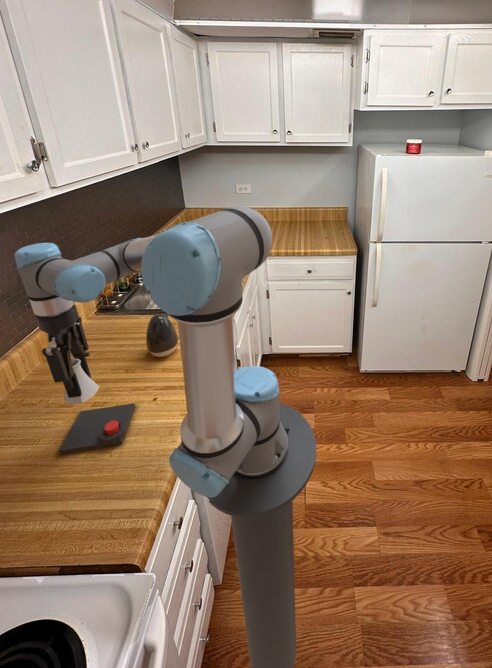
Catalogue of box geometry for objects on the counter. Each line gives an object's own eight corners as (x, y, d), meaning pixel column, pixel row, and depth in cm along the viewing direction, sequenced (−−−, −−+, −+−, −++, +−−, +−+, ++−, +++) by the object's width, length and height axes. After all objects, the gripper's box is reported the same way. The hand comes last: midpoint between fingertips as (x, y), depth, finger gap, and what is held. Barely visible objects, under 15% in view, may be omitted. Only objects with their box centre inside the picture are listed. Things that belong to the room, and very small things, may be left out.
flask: (82, 407, 81) (72, 375, 78) (57, 402, 83) (46, 371, 79) (105, 385, 88) (96, 355, 84) (81, 381, 89) (72, 351, 86)
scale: (137, 406, 96) (135, 398, 94) (123, 445, 84) (120, 437, 83) (81, 414, 93) (79, 406, 92) (59, 456, 81) (56, 447, 80)
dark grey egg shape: (186, 346, 120) (180, 311, 115) (163, 364, 112) (156, 327, 106) (165, 339, 124) (159, 304, 119) (142, 356, 115) (133, 319, 110)
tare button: (120, 424, 87) (119, 419, 86) (117, 434, 84) (115, 429, 84) (108, 426, 86) (106, 421, 86) (104, 436, 84) (102, 431, 83)
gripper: (56, 291, 83) (79, 365, 92) (11, 334, 67) (44, 419, 76) (89, 289, 85) (109, 361, 93) (53, 330, 69) (81, 413, 77)
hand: (80, 387), depth 84 cm, fingers closed on flask, 5 cm apart
